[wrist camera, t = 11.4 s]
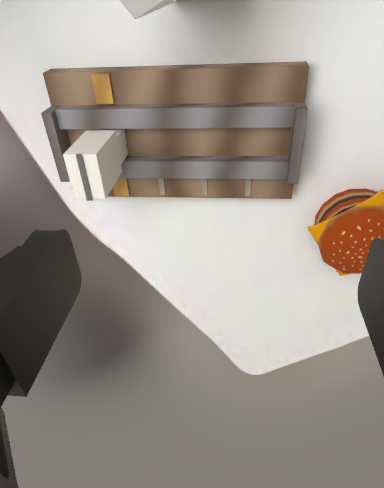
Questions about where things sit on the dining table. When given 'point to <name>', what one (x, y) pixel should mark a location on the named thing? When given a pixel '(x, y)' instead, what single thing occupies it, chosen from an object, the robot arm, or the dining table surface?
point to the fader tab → (96, 162)
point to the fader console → (188, 125)
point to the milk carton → (144, 6)
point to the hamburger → (349, 228)
